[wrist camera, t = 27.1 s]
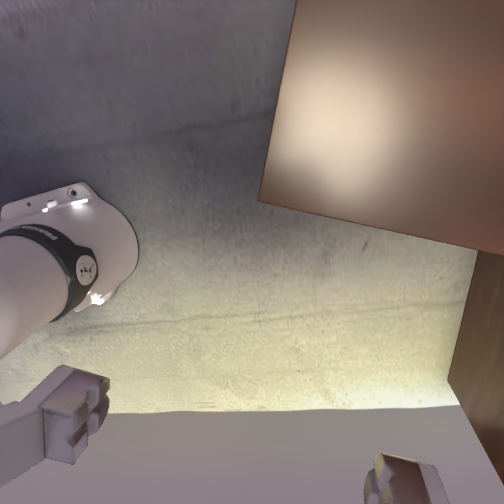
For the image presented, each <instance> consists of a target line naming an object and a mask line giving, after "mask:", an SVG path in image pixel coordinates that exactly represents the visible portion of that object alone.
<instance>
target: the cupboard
mask: <svg viewBox="0 0 504 504" xmlns="http://www.w3.org/2000/svg"><path fill="white" fill-rule="evenodd" d="M258 202H262V203H266V204H271V205H275V206H280V207H284V208H289V209H293V210H298V211H302V212H307V213H311V214H316V215H320V216H325V217H330V218H334V219H339V220H343V221H348V222H352V223H357V224H361V225H366V226H370V227H375V228H379V229H384V230H388V231H393V232H397V233H402V234H407V235H411V236H416V237H420V238H425V239H429V240H434V241H438V242H443V243H447V244H452V245H456V246H461V247H465V248H470V249H474V250H479V251H484V252H488V253H493V254H497V255H502V256H504V0H296V4H295V10H294V15H293V20H292V25H291V30H290V35H289V40H288V46H287V51H286V56H285V61H284V66H283V71H282V77H281V82H280V87H279V92H278V97H277V102H276V108H275V113H274V118H273V123H272V128H271V133H270V138H269V144H268V149H267V154H266V159H265V164H264V169H263V175H262V180H261V185H260V190H259V195H258Z"/></svg>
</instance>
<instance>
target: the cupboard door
mask: <svg viewBox="0 0 504 504" xmlns="http://www.w3.org/2000/svg"><path fill="white" fill-rule="evenodd" d="M448 382H449V384H450V386H451V388H452V390H453V392H454V394H455V395H456V397H457V399H458V401H459V403H460V405H461V407H462V408H463V410H464V412H465V414H466V416H467V418H468V420H469V422H470V423H471V425H472V427H473V429H474V431H475V433H476V434H477V436H478V438H479V440H480V442H481V444H482V446H483V448H484V449H485V451H486V453H487V455H488V457H489V459H490V461H491V463H492V464H493V466H494V468H495V470H496V472H497V474H498V476H499V477H500V479H501V481H502V483H503V485H504V256H502V255H497V254H493V253H488V252H484V251H479V254H478V258H477V262H476V266H475V270H474V274H473V278H472V282H471V287H470V291H469V295H468V299H467V303H466V307H465V311H464V315H463V320H462V324H461V328H460V332H459V336H458V340H457V344H456V348H455V352H454V357H453V361H452V365H451V369H450V373H449V377H448Z"/></svg>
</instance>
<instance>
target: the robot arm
mask: <svg viewBox="0 0 504 504" xmlns="http://www.w3.org/2000/svg"><path fill="white" fill-rule="evenodd" d="M74 191H75V192H76V195H75V194H74ZM137 260H138V243H137V239H136V236H135V233H134V231H133V229H132V227H131V225H130V223H129V222H128V220H127V219H126V218H125V217H124V216H123V214H122V213H121V212H120V211H118V210H117V209H116V208H115V207H113V206H112V205H110V204H108V203H107V202H105V201H103V200H102V199H100V198H99V197H98V196H97V194H96V193H95V192H94V191H93V190H92V189H91V187H90V186H88V185H87V184H86V183H84V182H78V183H75V184H72V185H68V186H65V187H61V188H58V189H55V190H51V191H48V192H44V193H41V194H38V195H34V196H31V197H28V198H24V199H21V200H17V201H14V202H11V203H8V204H6V205H4V206H3V208H2V211H1V221H0V360H2V359H3V358H4V357H5V356H6V355H7V354H8V353H10V352H11V351H12V350H13V349H14V348H16V347H17V346H18V345H20V344H21V343H22V342H24V341H25V340H26V339H28V338H29V337H30V336H32V335H33V334H34V333H36V332H37V331H38V330H40V329H41V328H42V327H44V326H45V325H46V324H48V323H51V322H54V321H56V320H58V319H60V318H62V317H64V316H66V315H67V314H69V313H70V312H72V311H75V312H78V311H81V310H83V309H84V308H86V307H87V306H89V305H91V304H92V303H95V304H102V303H103V302H104V301H107V300H109V299H110V298H112V297H113V296H114V294H115V292H116V290H117V287H118V286H119V284H121V283H122V282H123V281H124V280H126V279H127V278H128V277H129V276H130V275H131V274H132V272H133V271H134V269H135V266H136V264H137ZM109 389H110V379H109V378H107V377H103V376H100V375H97V374H93V373H90V372H87V371H83V370H80V369H76V368H72V367H69V366H66V365H61V366H59V367H57V368H56V369H55V370H54V371H53V372H52V373H50V374H49V375H48V376H47V377H46V378H45V379H44V380H43V381H42V382H41V383H40V384H39V385H38V386H37V387H36V388H35V389H33V390H32V391H31V392H30V393H29V394H28V395H27V396H26V397H25V398H24V399H23V400H22V401H21V402H17V401H14V402H11V403H9V404H6V405H4V406H1V407H0V487H2V486H4V485H5V484H7V483H8V482H10V481H11V480H13V479H15V478H16V477H18V476H19V475H21V474H22V473H24V472H26V471H27V470H29V469H30V468H32V467H34V466H35V465H37V464H38V463H40V462H42V461H43V460H44V459H45V458H48V459H52V460H55V461H59V462H63V463H67V464H71V465H74V464H75V462H76V461H77V459H78V458H79V457H80V455H81V454H82V453H83V451H84V450H85V448H86V447H87V446H88V436H90V435H92V434H94V433H96V432H97V431H98V430H99V428H100V427H101V425H102V424H103V422H104V420H105V417H106V415H107V412H108V408H109V398H108V396H107V395H106V393H107V391H108V390H109ZM373 461H374V466H375V468H374V469H372V470H370V471H369V472H368V474H367V477H366V480H365V485H364V504H450V503H449V500H448V497H447V495H446V492H445V490H444V487H443V484H442V482H441V479H440V476H439V474H438V471H437V469H436V468H435V466H434V465H430V464H426V463H422V462H418V461H413V460H411V459H407V458H403V457H399V456H395V455H391V454H388V453H384V452H380V451H379V452H378V453H377V454H376V456H375V458H374V460H373Z"/></svg>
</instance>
